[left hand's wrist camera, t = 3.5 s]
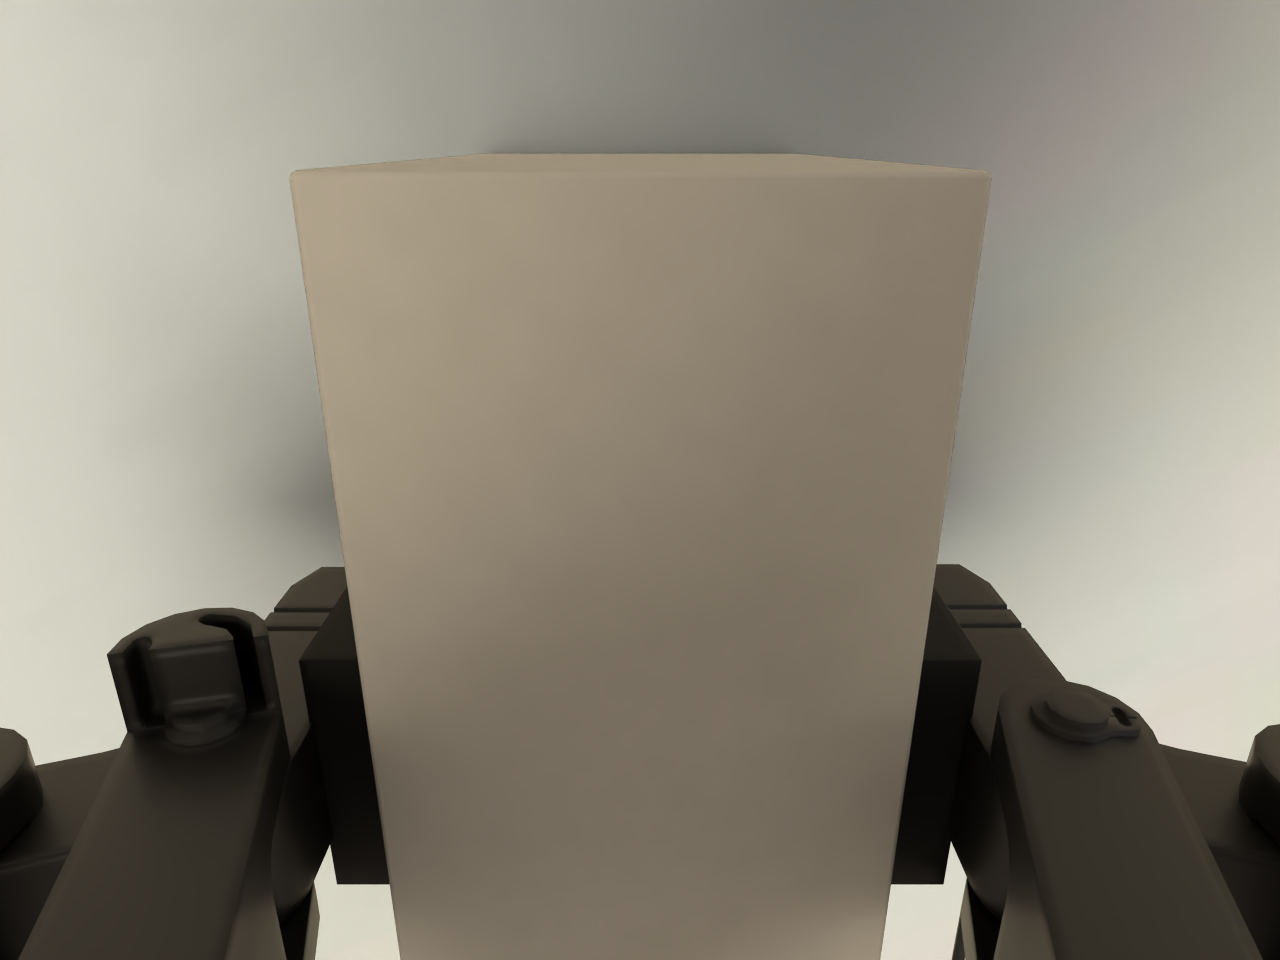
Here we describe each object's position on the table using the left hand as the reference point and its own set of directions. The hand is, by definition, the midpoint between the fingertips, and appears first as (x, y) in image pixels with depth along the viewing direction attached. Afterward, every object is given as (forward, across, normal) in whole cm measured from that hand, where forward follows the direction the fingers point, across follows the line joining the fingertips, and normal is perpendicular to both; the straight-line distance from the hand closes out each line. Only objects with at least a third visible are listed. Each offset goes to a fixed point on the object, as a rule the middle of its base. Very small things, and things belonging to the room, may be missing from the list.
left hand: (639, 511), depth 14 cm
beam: (+1, 0, -20) cm, 20 cm away
